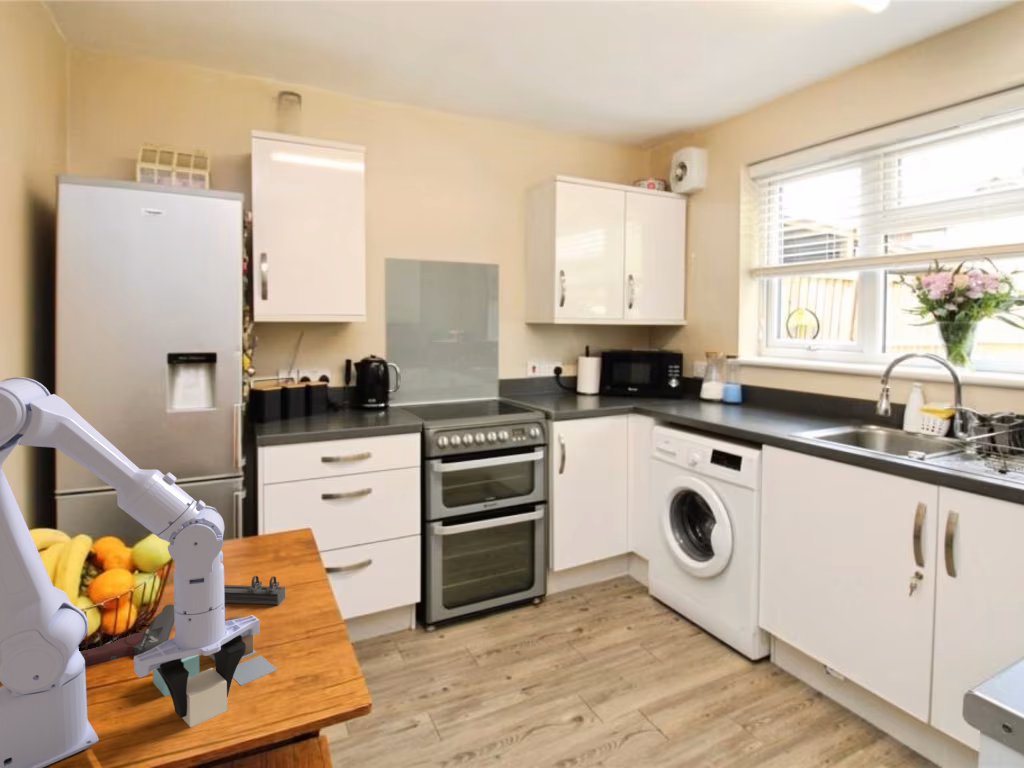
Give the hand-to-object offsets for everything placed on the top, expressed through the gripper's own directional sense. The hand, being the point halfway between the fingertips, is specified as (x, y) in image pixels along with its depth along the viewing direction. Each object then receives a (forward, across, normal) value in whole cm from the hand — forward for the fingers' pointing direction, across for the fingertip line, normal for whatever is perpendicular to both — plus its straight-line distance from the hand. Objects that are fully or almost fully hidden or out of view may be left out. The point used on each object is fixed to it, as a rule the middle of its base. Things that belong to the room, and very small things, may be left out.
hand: (202, 704), depth 76 cm
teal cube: (+2, 0, +9) cm, 9 cm away
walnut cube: (+1, +8, +11) cm, 14 cm away
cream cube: (+1, 0, 0) cm, 1 cm away
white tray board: (+1, +8, +8) cm, 11 cm away
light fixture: (+2, +17, +27) cm, 32 cm away
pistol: (+2, 0, +27) cm, 27 cm away
